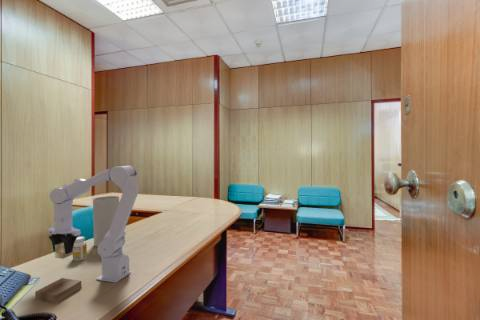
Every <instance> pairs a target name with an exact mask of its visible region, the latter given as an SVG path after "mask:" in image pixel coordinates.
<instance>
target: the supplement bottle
mask: <svg viewBox="0 0 480 320" xmlns="http://www.w3.org/2000/svg"><path fill="white" fill-rule="evenodd" d="M85 240H86V238H85V236H78V237H77V239H76V240H75V243H74V246H73V255H72V260H73V261H75V262H77V261H82V260H84V259H87V256H88V254H87V253H88V252H87V251H88V250H87V247H88V246H87V241H85Z"/></svg>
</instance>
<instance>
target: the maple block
mask: <svg viewBox="0 0 480 320" xmlns="http://www.w3.org/2000/svg"><path fill="white" fill-rule="evenodd" d="M54 253H55V254H54V255H55V256H54V257H55V258H56V259H62V260H64V259H65V258H69V257H71V256H73V249H72V252H71V253H68V254H66V253H65V248H64V243H63V242H62V243H59V244H56V245H55V247H54Z"/></svg>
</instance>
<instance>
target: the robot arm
mask: <svg viewBox="0 0 480 320" xmlns="http://www.w3.org/2000/svg"><path fill="white" fill-rule="evenodd" d="M138 176H139V173H138V171H137V170H136V168H135V167H134V166H132V165H129V164H127V165H121V166H119V165H116V166H113V167H111V168H107V169H105V170H102V171H101V172H98V173H97V174H95V175H93V176H90V177H89V178H87V179H85V178H76V179H74V180H73V182H70V183H68V184H67V183H66V184H63V185H62V187H58V188H57V187H56V188H54V189H52V190H51V191H50V193H49V199H50V202H51V203H53V224H54V225H53V226H54V227H50V228H49V227H48V228H47V229H46V231H47V234H50V235H49V236H48V239H49V240H50V241H51V242H52V243H51V244H53V246H54V248H55V245H56V244H59V243H62V242H63V243H64V248H65V253H66V254H68V253H71V252H72V249H73V246H74V243H75V240H76V239H77V237H79V236H80V235H81V233H82V232H81V229H78V228H75V227H73V204H74V199H75V198H77V197H79V196H81V195H84V194H86V193H87V192H89V191H90V189H91V188H92V187H94V186H96V185H98V184H100V183H103V182H106V181H108V182H109V181H112V182H113V183H114V184H116V186H117V187H118V188H119V189H120V190H121V191H122V194H121V196H120V198H119V205H118V207H117V210H116V213H115V216H114V218H113V221H112V224H111V226H110V229H109V231H108V232H107V233H106V235H105V236H104V238H103V240H102V242H100V243H99V245H98V247H97V248H96V250H97V253H98V255H99V256H100V258H101V275H99V276H97V277H96V278H95V280H96V281H102V282H110V283H118V282H120V281H121V280H122V279H124V278H125V277H127V276H128V275H130V274H131V273H132V272H131V271H130V257H129V256H128V255H127V254H125V253H123V246H125V243H126V231H125V230H126V227H127V223H128V221H129V219H130V216H131V214H132V210H133V208H134V205H135V202H136V199H137V197H138V194H139V190H140V186H139V185H140V184H139V180H138V179H139V178H138Z"/></svg>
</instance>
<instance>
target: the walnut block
mask: <svg viewBox="0 0 480 320" xmlns="http://www.w3.org/2000/svg"><path fill="white" fill-rule="evenodd" d="M82 288H83V287H82V280H78V279H71V278H65V277H61V278H59V279H57V280H55V281H53V282H51V283H49V284H47V285H45V286H43V287H41V288H40V289H38V290H36V291H35V293H34V294H35V295H34V296H35V300H36V299H37V301H42V300H43V302H47V301H48V302H49V303H52V302H53V303H54V304H57V303H58V304H59V302H61V301H63V300H64V299H66V298H68V297H69V296H70V295H72V294H74V293H76V292H77V291H80V289H82ZM48 302H47V303H48ZM53 303H52V304H53Z"/></svg>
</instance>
